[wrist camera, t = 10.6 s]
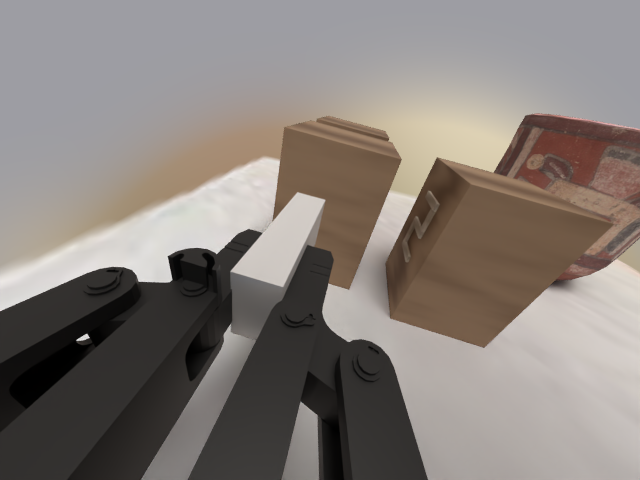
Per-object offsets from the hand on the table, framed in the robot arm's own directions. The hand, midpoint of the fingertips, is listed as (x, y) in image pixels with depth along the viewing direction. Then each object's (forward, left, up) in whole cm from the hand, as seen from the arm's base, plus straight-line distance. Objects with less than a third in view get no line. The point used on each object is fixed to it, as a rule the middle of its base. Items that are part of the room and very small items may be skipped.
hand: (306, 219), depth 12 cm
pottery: (-37, -3, -9) cm, 39 cm away
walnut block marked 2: (-14, +1, -9) cm, 17 cm away
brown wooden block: (-6, -7, -9) cm, 13 cm away
